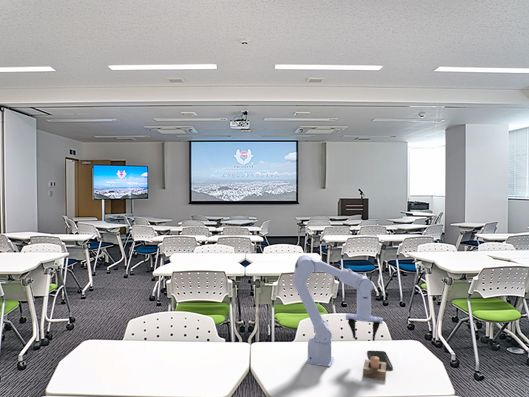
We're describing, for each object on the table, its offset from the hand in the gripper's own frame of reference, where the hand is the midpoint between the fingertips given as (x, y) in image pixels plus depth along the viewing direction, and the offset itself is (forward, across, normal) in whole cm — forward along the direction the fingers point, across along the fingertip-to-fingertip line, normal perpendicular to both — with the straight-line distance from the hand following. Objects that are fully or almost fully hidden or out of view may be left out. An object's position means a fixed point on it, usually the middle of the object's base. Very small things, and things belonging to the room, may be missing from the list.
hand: (363, 338), depth 152 cm
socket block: (+9, +5, -9) cm, 14 cm away
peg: (+9, +5, -9) cm, 14 cm away
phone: (+10, +6, +2) cm, 12 cm away
